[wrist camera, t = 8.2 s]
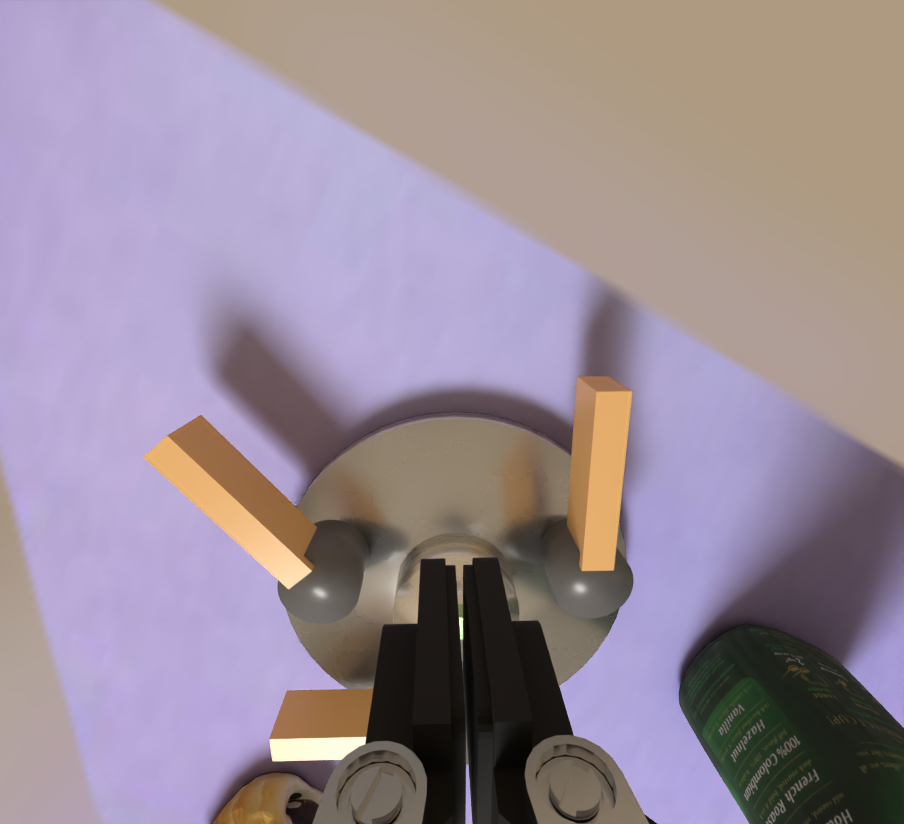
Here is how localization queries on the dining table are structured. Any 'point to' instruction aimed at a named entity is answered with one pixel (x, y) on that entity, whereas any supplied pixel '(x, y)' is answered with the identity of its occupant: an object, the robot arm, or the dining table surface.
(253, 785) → the pastry
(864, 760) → the coffee jar
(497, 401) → the dining table surface
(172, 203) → the dining table surface
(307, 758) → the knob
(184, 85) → the dining table surface
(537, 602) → the level plate
